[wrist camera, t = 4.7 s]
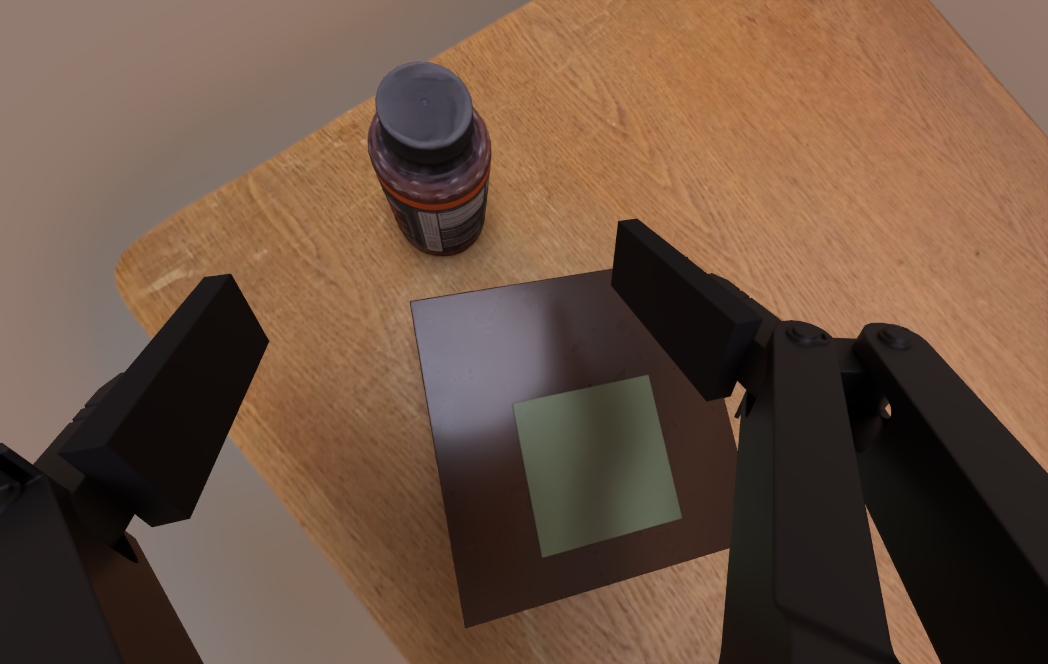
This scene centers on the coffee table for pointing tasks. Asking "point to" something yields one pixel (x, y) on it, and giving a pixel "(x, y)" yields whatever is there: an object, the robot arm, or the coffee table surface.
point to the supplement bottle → (431, 156)
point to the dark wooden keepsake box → (566, 443)
